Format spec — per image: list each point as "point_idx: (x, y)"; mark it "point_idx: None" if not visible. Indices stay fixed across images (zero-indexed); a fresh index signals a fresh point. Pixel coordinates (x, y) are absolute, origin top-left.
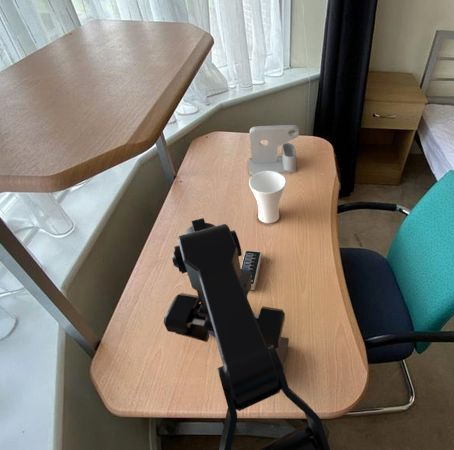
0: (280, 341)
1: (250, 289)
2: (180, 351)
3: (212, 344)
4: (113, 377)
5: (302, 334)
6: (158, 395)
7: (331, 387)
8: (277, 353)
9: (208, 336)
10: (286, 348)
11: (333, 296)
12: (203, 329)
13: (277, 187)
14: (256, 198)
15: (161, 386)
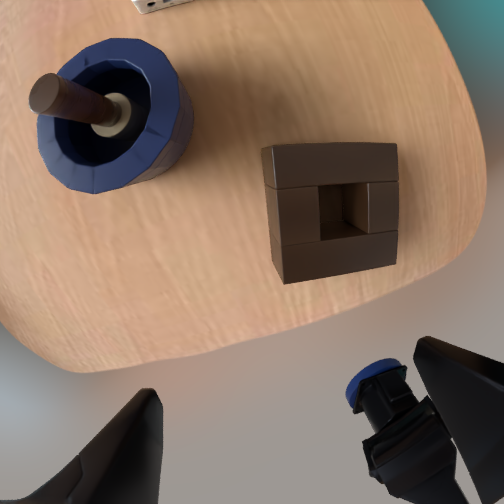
0: (378, 159)
1: (182, 1)
2: (79, 253)
3: (141, 204)
4: (28, 334)
5: (389, 104)
6: (109, 347)
7: (453, 221)
8: (378, 202)
9: (152, 405)
10: (398, 179)
11: (414, 8)
12: (130, 489)
13: None
14: None
15: (100, 332)
